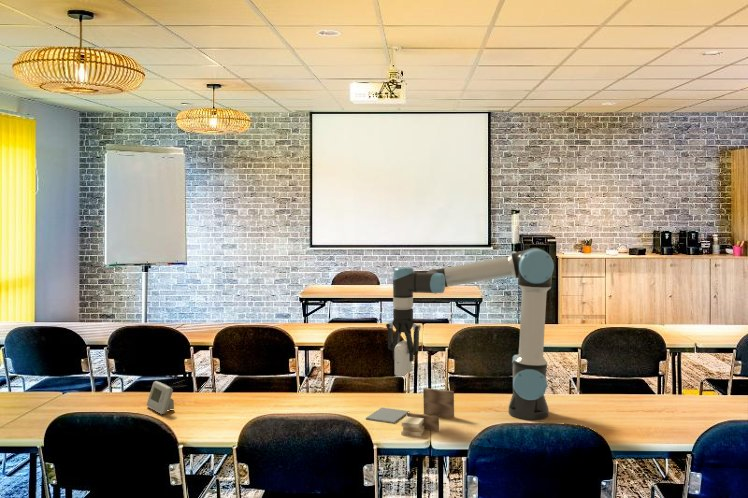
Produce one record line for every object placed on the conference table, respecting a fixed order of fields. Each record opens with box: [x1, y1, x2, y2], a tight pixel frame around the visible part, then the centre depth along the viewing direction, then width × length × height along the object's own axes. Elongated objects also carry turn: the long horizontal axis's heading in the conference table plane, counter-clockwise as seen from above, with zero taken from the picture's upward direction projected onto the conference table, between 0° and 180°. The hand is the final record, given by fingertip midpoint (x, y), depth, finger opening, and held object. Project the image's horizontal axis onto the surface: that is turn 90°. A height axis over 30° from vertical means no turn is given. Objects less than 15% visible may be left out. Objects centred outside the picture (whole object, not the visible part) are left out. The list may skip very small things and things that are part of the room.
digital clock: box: [146, 380, 175, 415], centre depth 251 cm, size 16×9×11 cm, turn 30°
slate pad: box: [365, 407, 410, 424], centre depth 238 cm, size 12×14×1 cm
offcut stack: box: [400, 416, 425, 437], centre depth 220 cm, size 7×7×4 cm
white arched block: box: [394, 340, 413, 377], centre depth 233 cm, size 10×4×12 cm, turn 156°
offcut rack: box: [406, 387, 455, 432], centre depth 230 cm, size 12×17×10 cm
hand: (403, 368), depth 233 cm, fingers closed on white arched block, 4 cm apart
